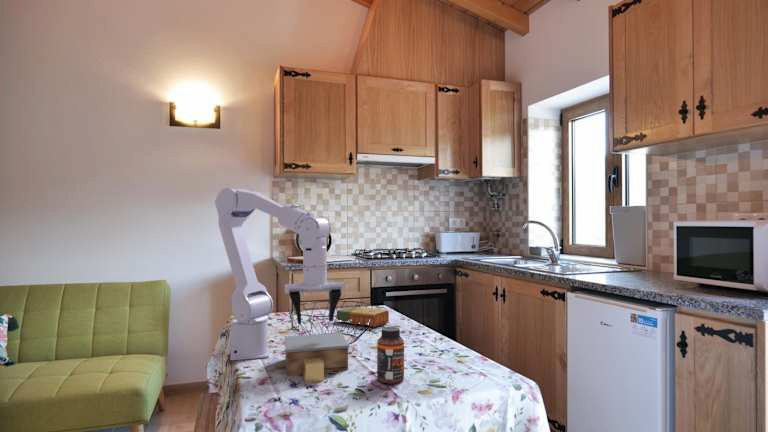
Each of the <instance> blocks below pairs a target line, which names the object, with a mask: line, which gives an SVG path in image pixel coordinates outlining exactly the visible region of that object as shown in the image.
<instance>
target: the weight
mask: <svg viewBox="0 0 768 432" xmlns="http://www.w3.org/2000/svg"><path fill="white" fill-rule="evenodd" d="M302 375H303V379H304V382H305V384H309V383H319V382H325V372H324V362H323V360H322V358H321V357H318V358H307V359H303V374H302Z"/></svg>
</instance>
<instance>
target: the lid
mask: <svg viewBox="0 0 768 432" xmlns="http://www.w3.org/2000/svg"><path fill="white" fill-rule="evenodd" d="M284 345H285V346H286V353H289V352H302V351H315V350H328V349H340V348H348V349H349V348H350V345H349V343H348V341H347V339H345V336H344V335H343V333H342V332H332V333H319V334H318V333H315V334H303V335H289V336H285V335H284ZM285 346H284V347H285Z"/></svg>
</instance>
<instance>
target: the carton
mask: <svg viewBox="0 0 768 432" xmlns="http://www.w3.org/2000/svg"><path fill="white" fill-rule="evenodd" d="M389 316H390V313H389V310H388V309H378V308H377V309H376V308H367V307H359V306H358V307H356V306H350V307H349V306H348V307H345V308H341V309H337V310H336V320H337V319H338V320H342V321H348V320H349V319H350V318H351V319H352V321H351V324H350V325H357V324H358V323H359V322H360V325H359V326H365V325H366V323H367V322H368V321H369V319H370V322H369V326H368V327H373V328H375V327H378V326H382V325H384V324H387V323H389V322H390V317H389Z"/></svg>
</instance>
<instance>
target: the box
mask: <svg viewBox="0 0 768 432" xmlns="http://www.w3.org/2000/svg"><path fill="white" fill-rule="evenodd" d="M284 347H285V348H284V349H285V351H284V353H285V357H284V359H285V366H286V375H287V376H291V375H303V359H307V358H318V357H321V358H322V360H323V362H324V373H325V372H336V371H348V370H349V348H340V349H328V350H315V351H302V352H289V353H286V346H284Z"/></svg>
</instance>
